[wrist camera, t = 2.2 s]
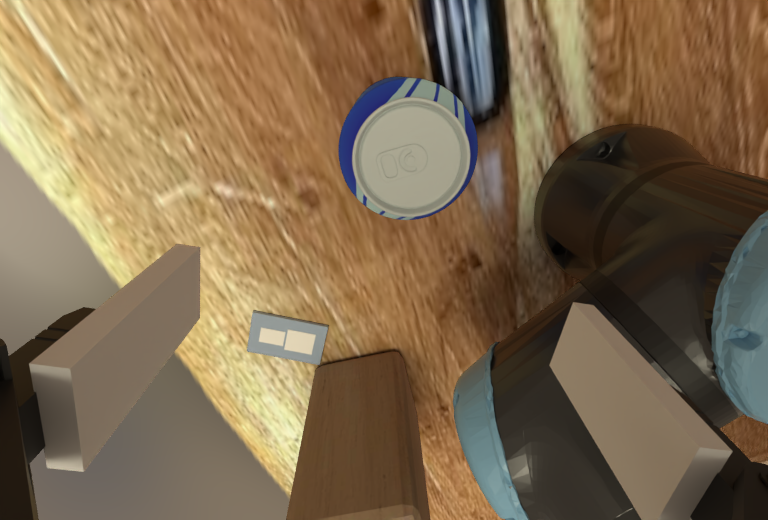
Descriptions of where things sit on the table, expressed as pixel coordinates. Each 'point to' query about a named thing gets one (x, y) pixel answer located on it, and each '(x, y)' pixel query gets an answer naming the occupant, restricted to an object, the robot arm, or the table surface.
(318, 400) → the block
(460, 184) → the beer can
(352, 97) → the table surface
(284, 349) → the card
